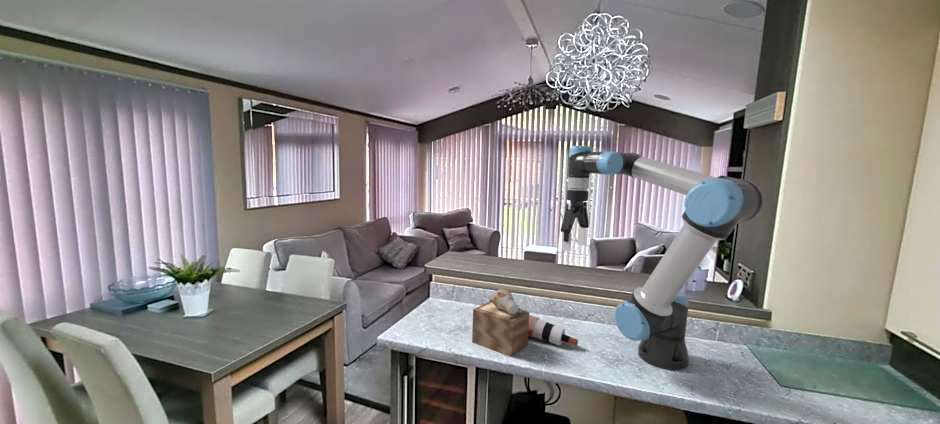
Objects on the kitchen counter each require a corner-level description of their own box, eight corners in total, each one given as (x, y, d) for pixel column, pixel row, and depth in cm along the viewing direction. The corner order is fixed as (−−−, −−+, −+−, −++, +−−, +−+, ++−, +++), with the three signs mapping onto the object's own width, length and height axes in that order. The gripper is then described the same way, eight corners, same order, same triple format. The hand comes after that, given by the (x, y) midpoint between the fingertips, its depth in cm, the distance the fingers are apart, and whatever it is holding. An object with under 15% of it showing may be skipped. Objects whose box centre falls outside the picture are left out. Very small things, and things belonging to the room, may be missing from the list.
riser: (527, 344, 135) (529, 310, 134) (511, 356, 127) (512, 320, 125) (489, 331, 145) (490, 299, 143) (472, 342, 136) (473, 307, 135)
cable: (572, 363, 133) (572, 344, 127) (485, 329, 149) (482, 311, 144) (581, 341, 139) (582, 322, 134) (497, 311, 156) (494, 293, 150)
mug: (508, 319, 126) (496, 290, 128) (497, 321, 135) (486, 294, 137) (527, 310, 129) (515, 282, 131) (515, 313, 138) (504, 286, 140)
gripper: (580, 187, 152) (577, 241, 154) (553, 190, 132) (549, 251, 135) (599, 188, 147) (596, 243, 150) (574, 191, 127) (570, 255, 130)
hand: (574, 247), depth 142 cm, fingers open, 13 cm apart
